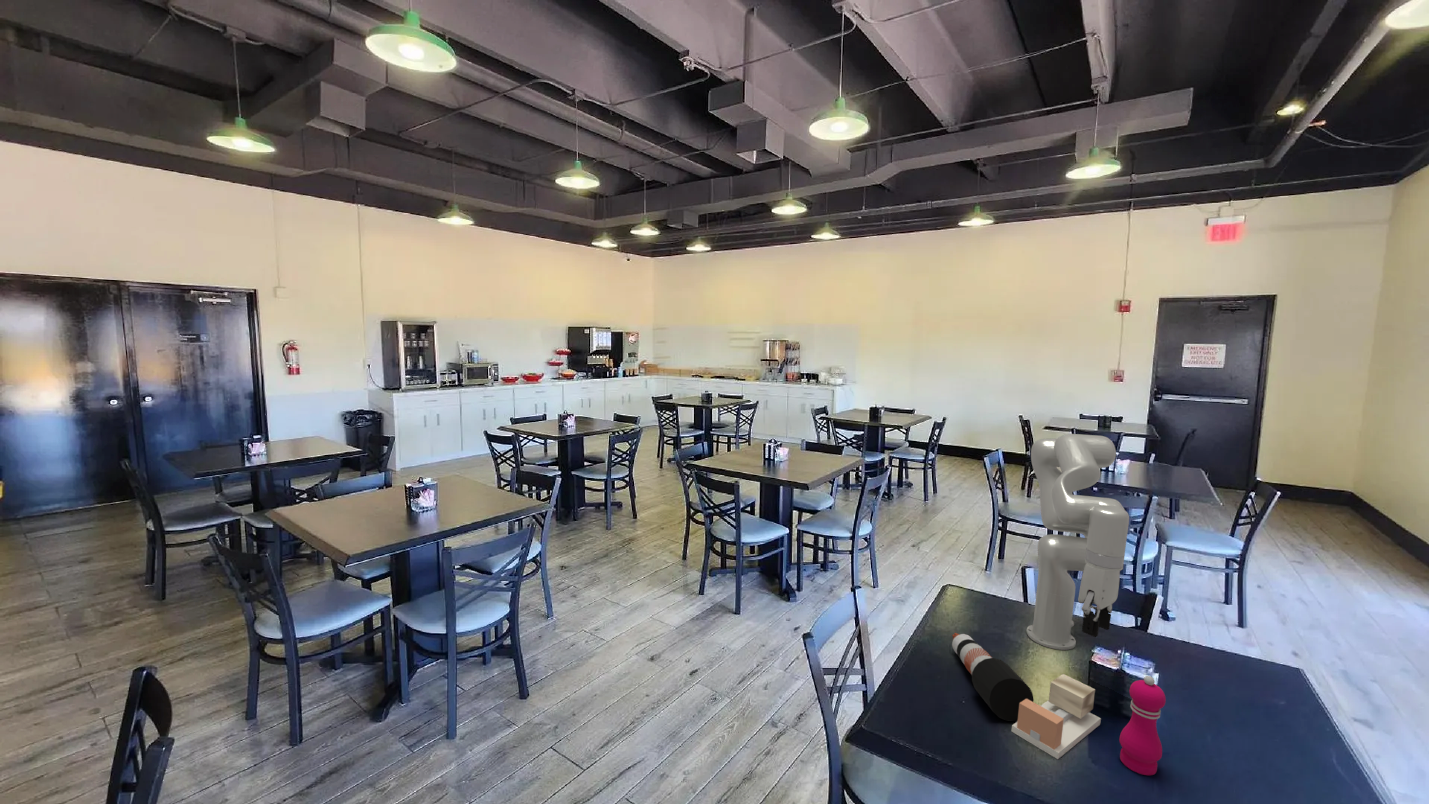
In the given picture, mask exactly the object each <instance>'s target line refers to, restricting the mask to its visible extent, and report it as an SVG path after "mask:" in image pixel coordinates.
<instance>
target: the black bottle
mask: <svg viewBox="0 0 1429 804" xmlns="http://www.w3.org/2000/svg"><path fill="white" fill-rule="evenodd" d="M951 636H952V643H951V646H952V649H953V651H954V652H955V653H956V655H957V656H958V658H959V659H960V660H961V662H962V663H963V665H964V666H965V668H966V670H967V671H968V673H970V675H971V683H972V685H973V688H974V689H975V690H976V692H977V694H979V696H980V697H981V698H982V699H983V701H984V703H986V704H987V706H988V707H989V708H990V710H991V711H992V713H993V714H994V715H996V716H997V717H998V718H999V719H1002V720H1003V721H1004V720H1005V721H1006V722H1018V712H1019V703H1020V702H1022V701H1023V700H1025V699H1028V700H1030V701H1032V702H1034V701H1035V699H1034V694H1033V692H1032V689H1031V688H1030V687H1029V685H1028V684H1027V683H1026V682H1025V681H1024V680H1023V679H1022V678H1021V677H1020V676H1019V674H1017V672H1015V671H1014V669H1013V668H1012V667H1011V666H1010V665H1008V664H1007V663H1006V662H1005V661H1003V660H1002V659H999V658H996V657H993V656H991V655H990V654H989V652H987V650H985V649H984V648H983V647H982V645H979V644H978V642H976V641H975V640H974V639H973V638H972V637H971V636H970V635H968V634H965V633H961V634H959V633H958V632H954V634H952V635H951Z"/></svg>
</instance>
